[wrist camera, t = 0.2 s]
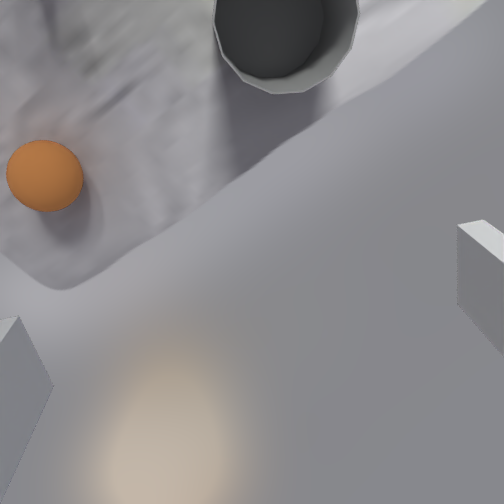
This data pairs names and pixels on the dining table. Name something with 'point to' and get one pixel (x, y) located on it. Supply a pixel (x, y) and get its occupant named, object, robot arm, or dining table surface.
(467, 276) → the robot arm
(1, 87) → the dining table surface
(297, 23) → the cup
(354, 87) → the dining table surface
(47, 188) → the ball
